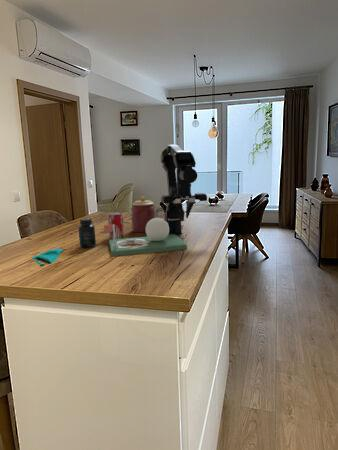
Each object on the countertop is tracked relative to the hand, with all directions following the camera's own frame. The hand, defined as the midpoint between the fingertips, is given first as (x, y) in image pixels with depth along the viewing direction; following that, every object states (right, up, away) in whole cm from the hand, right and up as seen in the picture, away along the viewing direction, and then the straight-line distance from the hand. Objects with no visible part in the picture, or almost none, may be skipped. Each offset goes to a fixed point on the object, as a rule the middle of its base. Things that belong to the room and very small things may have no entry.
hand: (184, 218), depth 143 cm
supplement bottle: (-42, -12, +2) cm, 44 cm away
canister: (-19, -6, +31) cm, 37 cm away
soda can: (-31, -9, +16) cm, 36 cm away
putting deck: (-17, -12, -2) cm, 21 cm away
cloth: (-54, -16, -12) cm, 57 cm away
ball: (-12, -5, -2) cm, 13 cm away
